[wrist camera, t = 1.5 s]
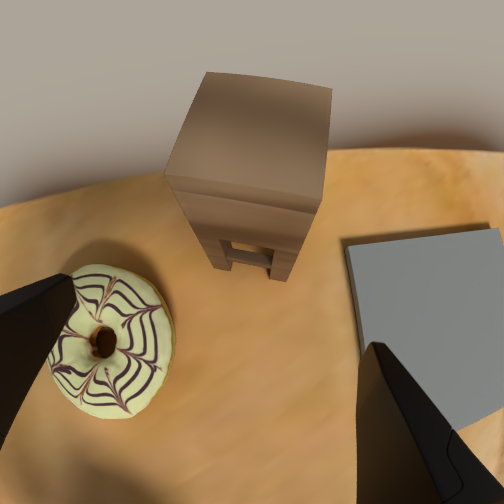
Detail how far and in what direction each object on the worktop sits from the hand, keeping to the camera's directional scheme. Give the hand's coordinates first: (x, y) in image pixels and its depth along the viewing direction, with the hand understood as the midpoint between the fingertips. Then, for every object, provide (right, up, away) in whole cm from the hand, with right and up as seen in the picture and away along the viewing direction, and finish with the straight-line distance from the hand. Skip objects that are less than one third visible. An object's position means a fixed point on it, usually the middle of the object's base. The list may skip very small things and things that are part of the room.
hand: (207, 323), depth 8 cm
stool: (+2, +3, +15) cm, 15 cm away
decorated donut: (-9, -5, +13) cm, 17 cm away
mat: (+17, -5, +12) cm, 21 cm away
